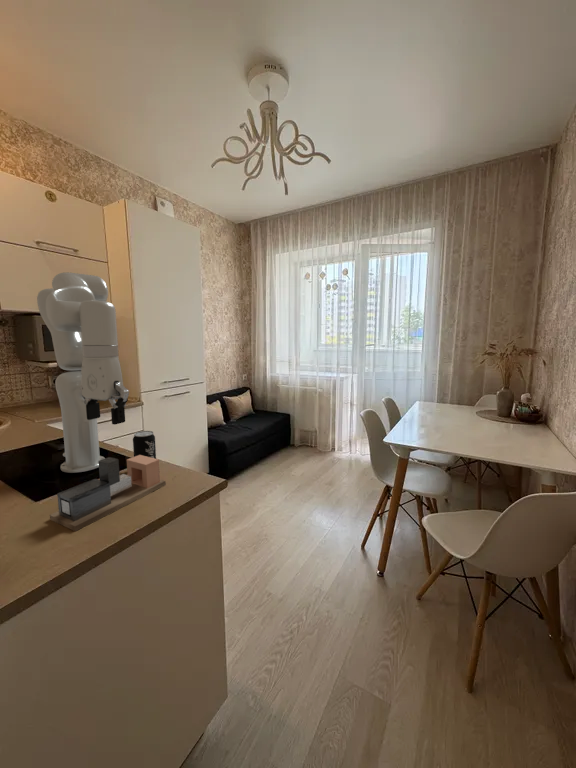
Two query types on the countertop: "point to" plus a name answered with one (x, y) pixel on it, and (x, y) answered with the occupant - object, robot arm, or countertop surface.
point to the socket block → (143, 470)
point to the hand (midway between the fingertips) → (106, 420)
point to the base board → (108, 506)
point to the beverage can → (144, 444)
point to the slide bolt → (107, 479)
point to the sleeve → (85, 498)
